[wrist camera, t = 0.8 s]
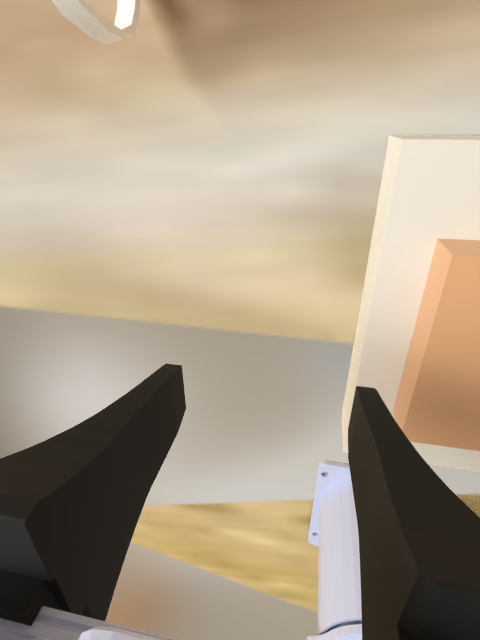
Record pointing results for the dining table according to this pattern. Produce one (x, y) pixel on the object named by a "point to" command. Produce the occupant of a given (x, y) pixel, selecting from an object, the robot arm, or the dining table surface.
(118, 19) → the cup
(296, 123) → the dining table surface
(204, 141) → the dining table surface
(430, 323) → the tile
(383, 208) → the cream flat block
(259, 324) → the dining table surface
